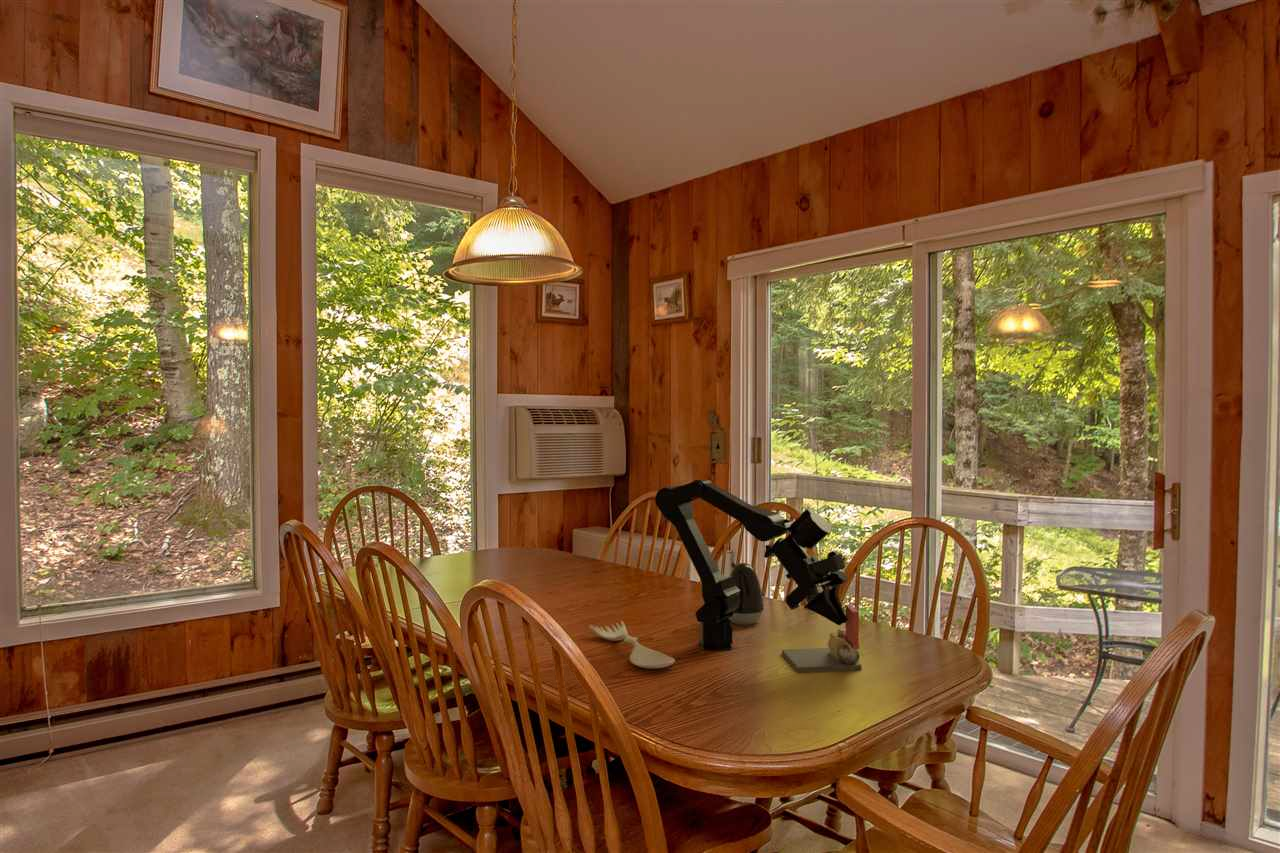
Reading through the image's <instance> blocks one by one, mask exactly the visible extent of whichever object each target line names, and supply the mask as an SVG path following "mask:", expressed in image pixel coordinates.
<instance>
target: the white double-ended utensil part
mask: <svg viewBox="0 0 1280 853" xmlns="http://www.w3.org/2000/svg"><path fill="white" fill-rule="evenodd" d="M611 627H612V629H611V628H610V627H609V625H608V626H607V625H605V629H604V628H603V627H602V626H599V627H598V626H597V625H595V626H593V625H592V624H589V629H590V630H591V631H592V632H593V633H594V634H596V635H598V636H599V637H601V638H603V639H605V640H608V641H613V642H614V641H615V642H616V641H621V640H623V641H624V642H625V643H629V644H632V645H633V649H632V651H631V653H630V654H629V655H630V656H629V661H630V662H631V663H632V664H633V665H635V666H637V667H638V668H642V669H646V670H651V669H653V670H654V669H662V668H667V667H670V666H671V665H673V664H674V663H675V662H676V659H675V658H673V657H672V656H670V655H666V654H664V653H663V652H660V651H657V650H654V649H651V648H648V647H647V646H643V645H642V644H641V643H639V642H638V638H637V637H635V636H631V635H629V634H628V629H627V628H626V625H625V623H624V621H623V620H620V624H619V623H618V622H616V623H615V625H614V624H611ZM616 627H617V628H616Z"/></svg>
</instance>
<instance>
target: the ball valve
mask: <svg viewBox="0 0 1280 853" xmlns="http://www.w3.org/2000/svg"><path fill="white" fill-rule="evenodd" d="M827 646H828V647H827V648H829V649H830V656H831V657H832V658H833V659H834V660H835V661H836V662H845V663H846V664H847V665H854V664H856V663H857V662H859V660H860V657H861V656H860V653H859V651H858V649H852V648H851V646H850V645H849V644H848V643H847V642H846V641H845V639H844V638H843V637H842V636H839V635H838V631H837V632H835V631H834V632H833V631H832V632H829V640H828V643H827Z"/></svg>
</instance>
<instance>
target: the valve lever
mask: <svg viewBox="0 0 1280 853" xmlns="http://www.w3.org/2000/svg"><path fill="white" fill-rule="evenodd" d="M859 613H860V611H859V610H857V609H856V608H855V607H854V606H853V605H852V604H845V615H846V619H847V621H846V622H845V628H837V632H838V635H839V636H842V637H843V638H844V639H845V641H846V642H847V643H848V644H849V645H850V646H851V648H852V649H857V650H859V649H860V643H859V642H860V640H859V639H860V637H859V632H860V631H859V629H860V628H859V627H860V626H859V624H860V622H859V620H860V619H859V617H860V616H859V615H860V614H859Z"/></svg>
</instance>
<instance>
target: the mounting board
mask: <svg viewBox="0 0 1280 853" xmlns="http://www.w3.org/2000/svg"><path fill="white" fill-rule="evenodd" d="M781 655H782V657H783V658H785V659H786V660H787V661H788V662H789V664H790V665H791V666H792V667H793V668H794V670H796V672H797V673H809V672H810V671H815V672H833V671H835V672H836V671H860V670H862V664H861V663H860V662H859V661H858V662H857V663H856V664H854V665H847V664H846V663H845V662H836V661H835V660H834V659H833V658H832V657H831V656H830V649H829V647H815V648H792V649H789V648H786V649H781Z"/></svg>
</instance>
